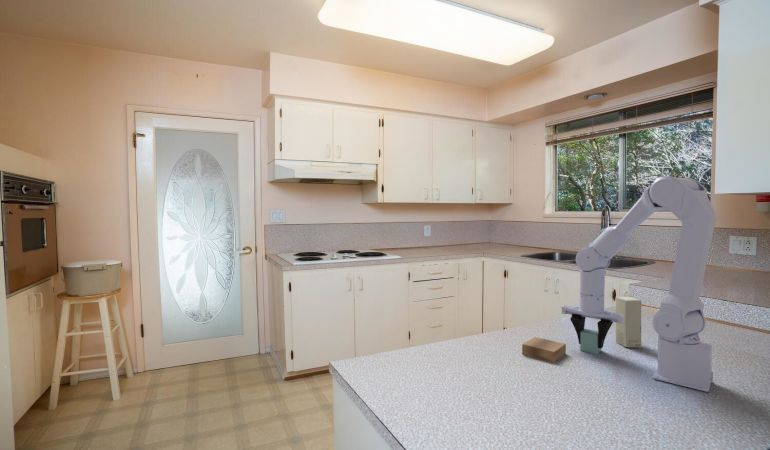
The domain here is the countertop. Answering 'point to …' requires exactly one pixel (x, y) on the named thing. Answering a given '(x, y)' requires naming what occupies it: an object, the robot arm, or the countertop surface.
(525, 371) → the countertop surface
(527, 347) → the tan wooden block
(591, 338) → the teal block
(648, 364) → the countertop surface
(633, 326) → the box
